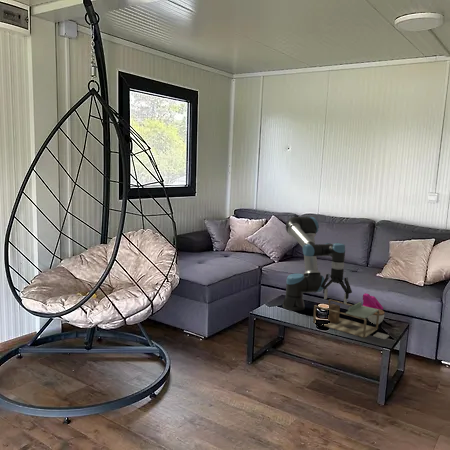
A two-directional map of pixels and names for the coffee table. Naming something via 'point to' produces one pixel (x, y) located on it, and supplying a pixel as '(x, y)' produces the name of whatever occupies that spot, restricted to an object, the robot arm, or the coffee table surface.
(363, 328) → the open box frame
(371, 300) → the bracket
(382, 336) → the tile
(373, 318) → the lidded jar
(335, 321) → the block
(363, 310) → the cover
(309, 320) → the coffee table surface
